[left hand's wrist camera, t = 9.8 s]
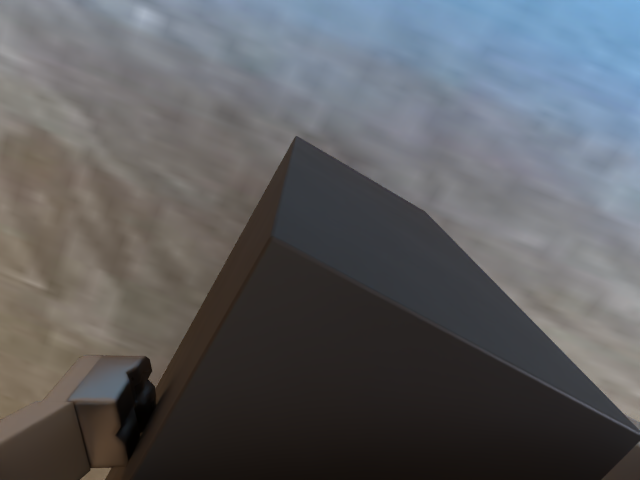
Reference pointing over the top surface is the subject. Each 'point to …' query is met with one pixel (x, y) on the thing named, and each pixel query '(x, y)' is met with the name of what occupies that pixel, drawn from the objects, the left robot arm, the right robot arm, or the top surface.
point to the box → (367, 356)
